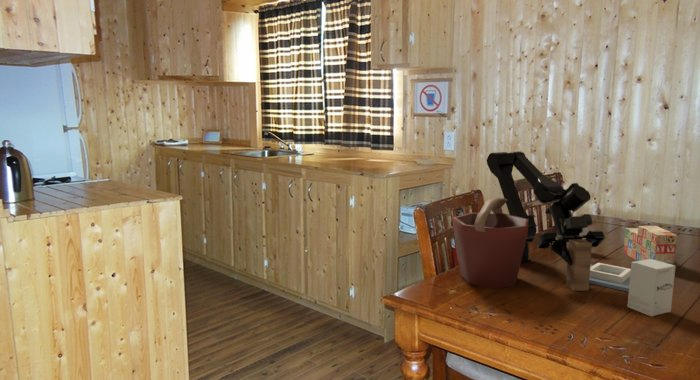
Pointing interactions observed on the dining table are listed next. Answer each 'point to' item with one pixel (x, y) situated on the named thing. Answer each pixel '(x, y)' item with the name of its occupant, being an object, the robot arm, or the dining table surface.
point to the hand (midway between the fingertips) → (579, 264)
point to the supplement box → (651, 287)
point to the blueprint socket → (610, 276)
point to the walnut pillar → (579, 265)
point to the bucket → (490, 245)
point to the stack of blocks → (650, 244)
